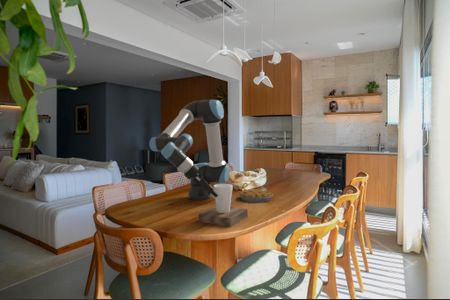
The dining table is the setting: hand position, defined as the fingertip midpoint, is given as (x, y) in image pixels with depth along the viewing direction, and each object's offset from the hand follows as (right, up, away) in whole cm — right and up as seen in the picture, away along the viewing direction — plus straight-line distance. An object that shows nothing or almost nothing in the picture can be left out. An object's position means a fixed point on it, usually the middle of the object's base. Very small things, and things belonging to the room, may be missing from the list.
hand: (219, 197), depth 144 cm
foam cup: (+2, -7, +1) cm, 7 cm away
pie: (+23, -9, +46) cm, 52 cm away
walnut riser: (+2, -11, +1) cm, 11 cm away
